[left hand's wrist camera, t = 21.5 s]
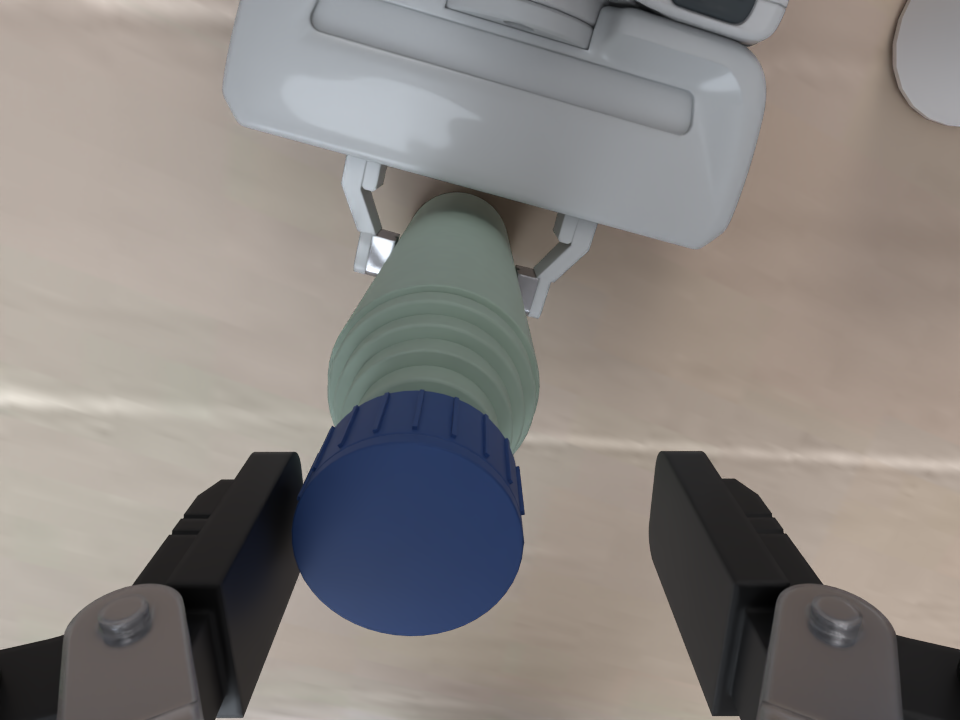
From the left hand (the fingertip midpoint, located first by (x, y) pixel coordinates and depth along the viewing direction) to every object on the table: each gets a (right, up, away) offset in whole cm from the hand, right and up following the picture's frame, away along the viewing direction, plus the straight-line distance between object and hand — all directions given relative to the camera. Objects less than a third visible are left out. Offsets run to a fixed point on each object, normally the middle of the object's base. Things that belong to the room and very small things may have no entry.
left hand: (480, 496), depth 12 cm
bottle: (-1, +9, +23) cm, 24 cm away
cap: (-1, 0, -1) cm, 2 cm away
